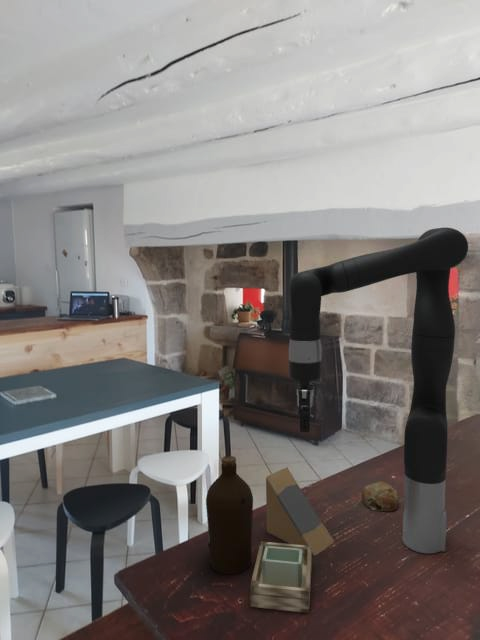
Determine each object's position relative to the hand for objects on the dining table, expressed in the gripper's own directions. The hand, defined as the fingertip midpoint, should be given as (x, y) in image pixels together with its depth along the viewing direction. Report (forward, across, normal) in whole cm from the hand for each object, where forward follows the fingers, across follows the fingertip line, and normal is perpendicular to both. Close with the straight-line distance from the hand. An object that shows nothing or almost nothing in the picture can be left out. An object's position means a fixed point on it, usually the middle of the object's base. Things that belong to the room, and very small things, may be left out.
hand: (305, 425), depth 118 cm
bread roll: (+30, +23, -20) cm, 43 cm away
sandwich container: (+30, +3, +2) cm, 30 cm away
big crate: (+30, -16, +4) cm, 34 cm away
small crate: (+29, -16, +4) cm, 33 cm away
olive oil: (+30, -10, +17) cm, 36 cm away
